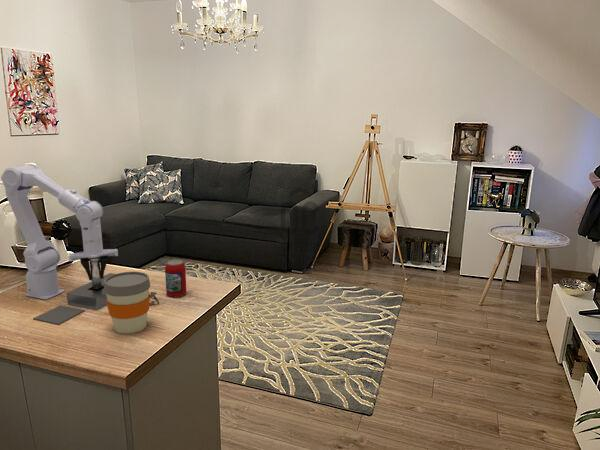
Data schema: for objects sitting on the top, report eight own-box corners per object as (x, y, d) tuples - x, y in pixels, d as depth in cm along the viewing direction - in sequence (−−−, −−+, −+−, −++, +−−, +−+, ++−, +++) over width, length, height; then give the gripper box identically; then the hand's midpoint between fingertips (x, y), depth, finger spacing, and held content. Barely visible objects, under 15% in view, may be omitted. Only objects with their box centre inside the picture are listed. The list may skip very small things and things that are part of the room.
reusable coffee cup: (118, 316, 138) (114, 270, 134) (158, 317, 138) (156, 271, 134) (99, 335, 126) (94, 286, 122) (143, 337, 126) (140, 287, 122)
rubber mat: (33, 319, 135) (33, 318, 135) (60, 306, 144) (60, 305, 144) (58, 325, 132) (58, 323, 131) (84, 311, 141) (84, 310, 141)
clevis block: (67, 304, 145) (66, 293, 144) (111, 283, 164) (110, 273, 163) (97, 310, 142) (95, 298, 141) (138, 287, 160) (137, 277, 159)
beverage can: (162, 296, 153) (160, 263, 150) (174, 289, 159) (173, 257, 156) (178, 299, 151) (176, 266, 148) (190, 292, 157) (189, 260, 154)
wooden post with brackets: (162, 302, 147) (155, 291, 145) (139, 314, 145) (132, 303, 143) (161, 300, 148) (155, 289, 147) (139, 312, 146) (132, 301, 145)
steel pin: (90, 287, 148) (87, 260, 146) (97, 284, 151) (95, 258, 148) (96, 289, 147) (93, 262, 144) (104, 286, 149) (101, 259, 147)
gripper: (67, 245, 138) (71, 285, 141) (117, 240, 144) (120, 279, 148) (67, 239, 144) (72, 278, 148) (115, 234, 150) (118, 272, 154)
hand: (96, 278), depth 148 cm, fingers closed on steel pin, 3 cm apart
